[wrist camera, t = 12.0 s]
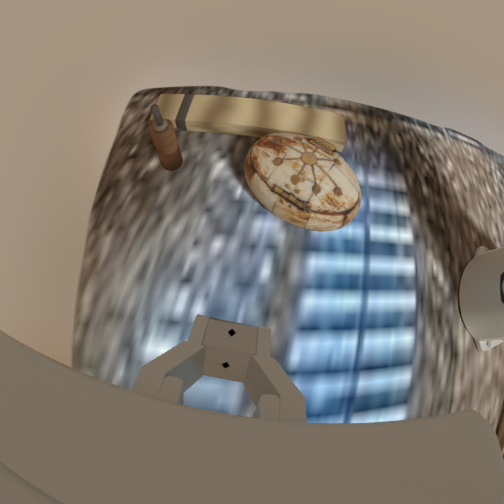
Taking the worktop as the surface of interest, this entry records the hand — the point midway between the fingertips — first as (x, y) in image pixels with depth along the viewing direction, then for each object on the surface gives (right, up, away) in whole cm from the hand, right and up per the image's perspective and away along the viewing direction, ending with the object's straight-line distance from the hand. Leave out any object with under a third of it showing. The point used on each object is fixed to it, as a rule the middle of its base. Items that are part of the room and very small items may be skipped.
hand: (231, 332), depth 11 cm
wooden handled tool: (-11, +16, +27) cm, 33 cm away
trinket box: (+7, +12, +27) cm, 30 cm away
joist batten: (0, +24, +30) cm, 38 cm away
